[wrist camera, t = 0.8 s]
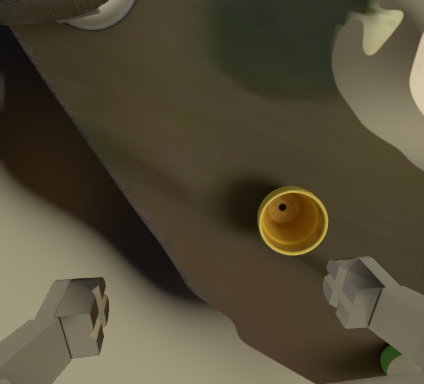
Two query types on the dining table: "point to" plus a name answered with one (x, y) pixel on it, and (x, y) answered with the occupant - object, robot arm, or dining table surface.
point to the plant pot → (292, 220)
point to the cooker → (102, 16)
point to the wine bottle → (396, 362)
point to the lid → (44, 10)
